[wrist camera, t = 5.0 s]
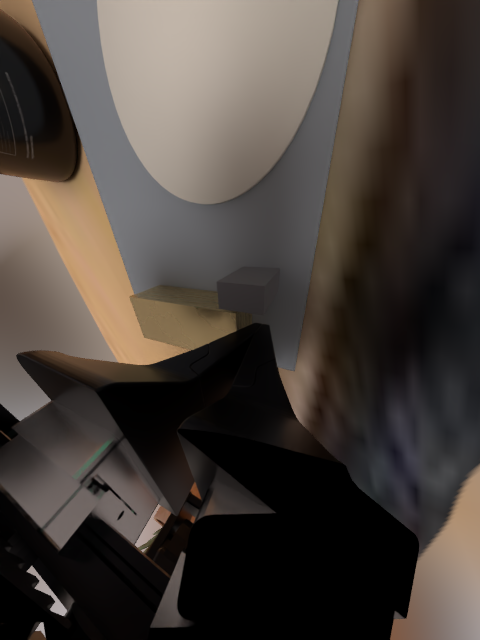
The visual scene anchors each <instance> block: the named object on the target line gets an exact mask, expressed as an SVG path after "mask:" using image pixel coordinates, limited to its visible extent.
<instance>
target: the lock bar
mask: <svg viewBox="0 0 480 640" xmlns="http://www.w3.org/2000/svg"><path fill="white" fill-rule="evenodd" d="M130 300H131V303H132V305H133V308H134V311H135V313H136V316H137V319H138V322H139V324H140V327H141V330H142V333H143V335H144V338H148V339H152V340H156V341H159V342H163V343H167V344H171V345H175V346H178V347H182V348H186V349H190V350H194V349H196V348H198V347H201V346H203V345H205V344H209V343H210V342H212V341H215V340H217V339H219V338H221V337H224V336H226V335H228V334H230V333H233V332H235V331H237V330H239V329H242V328H244V327H246V326H248V325H251V324H252V314H250V313H244V312H237V311H231V310H224V309H219V303H218V293H217V291H208V290H199V289H190V288H181V287H173V286H164V285H158V286H155V287H153V288H150V289H148V290H145V291H143V292H140V293H137V294H135V295H132V296H130Z"/></svg>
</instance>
